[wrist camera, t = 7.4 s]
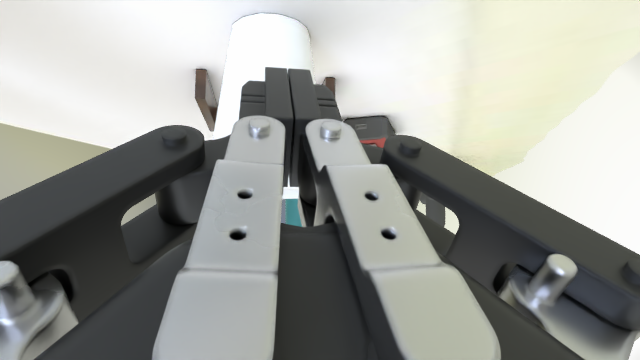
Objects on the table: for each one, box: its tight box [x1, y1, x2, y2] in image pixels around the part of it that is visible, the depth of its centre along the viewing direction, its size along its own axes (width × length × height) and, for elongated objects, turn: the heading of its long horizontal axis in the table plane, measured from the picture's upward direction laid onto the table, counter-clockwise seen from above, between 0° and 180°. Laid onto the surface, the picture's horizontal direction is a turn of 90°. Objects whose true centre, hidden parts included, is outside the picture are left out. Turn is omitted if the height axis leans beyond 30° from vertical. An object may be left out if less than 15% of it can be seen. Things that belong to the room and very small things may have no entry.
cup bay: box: [195, 69, 335, 131], centre depth 45 cm, size 13×14×3 cm
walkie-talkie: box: [344, 116, 396, 148], centre depth 63 cm, size 9×4×20 cm
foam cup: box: [213, 13, 316, 199], centre depth 30 cm, size 10×9×13 cm
